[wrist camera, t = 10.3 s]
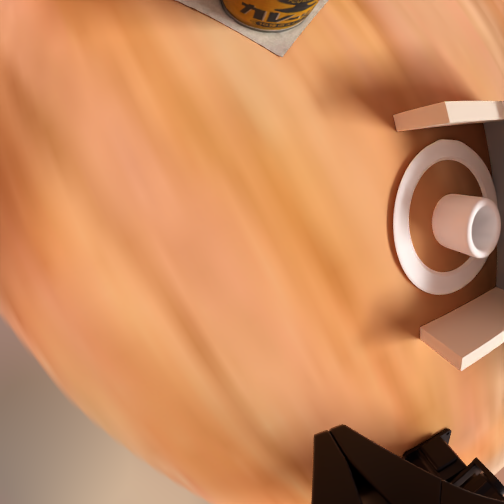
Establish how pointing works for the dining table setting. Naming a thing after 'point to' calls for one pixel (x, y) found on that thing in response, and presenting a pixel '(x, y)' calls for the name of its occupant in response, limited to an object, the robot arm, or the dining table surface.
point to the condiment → (263, 18)
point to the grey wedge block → (499, 298)
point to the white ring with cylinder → (448, 220)
